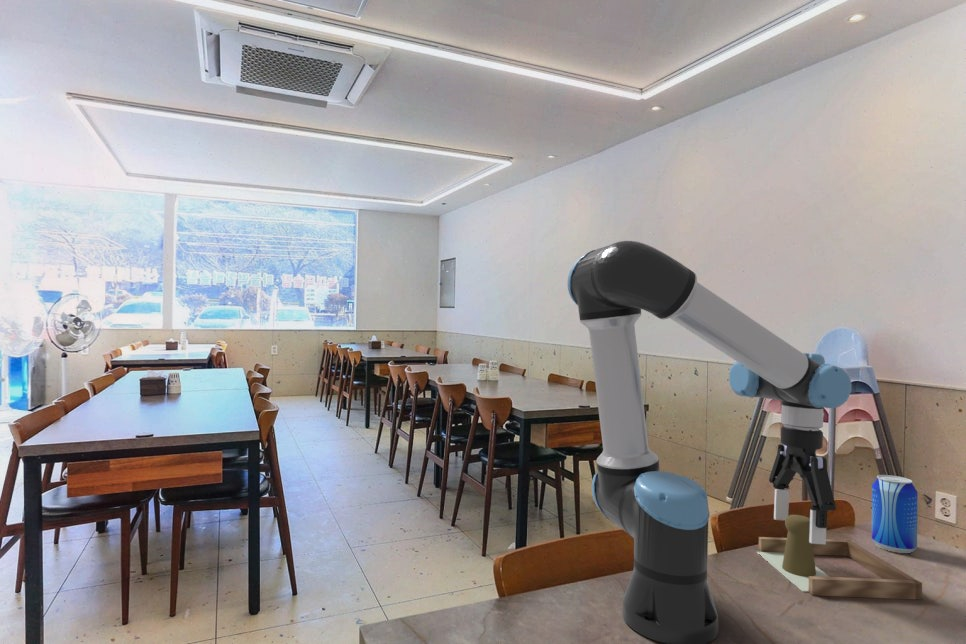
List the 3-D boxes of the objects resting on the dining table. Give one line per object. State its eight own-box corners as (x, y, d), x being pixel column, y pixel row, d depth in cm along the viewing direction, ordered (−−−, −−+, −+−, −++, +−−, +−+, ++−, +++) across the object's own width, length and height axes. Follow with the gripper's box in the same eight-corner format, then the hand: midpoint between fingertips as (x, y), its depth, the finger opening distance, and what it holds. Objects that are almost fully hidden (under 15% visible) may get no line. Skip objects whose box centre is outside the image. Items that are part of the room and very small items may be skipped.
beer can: (877, 538, 131) (878, 472, 131) (921, 549, 125) (921, 479, 125) (866, 546, 126) (867, 477, 126) (911, 558, 119) (912, 485, 120)
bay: (812, 595, 101) (812, 579, 101) (758, 550, 122) (758, 536, 122) (922, 599, 100) (922, 583, 100) (849, 553, 121) (849, 540, 121)
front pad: (802, 591, 102) (802, 590, 102) (756, 552, 120) (756, 551, 120) (851, 593, 102) (851, 592, 102) (797, 554, 120) (797, 553, 120)
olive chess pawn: (821, 578, 108) (821, 522, 108) (788, 574, 109) (788, 519, 109) (809, 565, 113) (809, 513, 114) (777, 562, 115) (778, 510, 115)
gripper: (860, 439, 99) (856, 556, 99) (788, 419, 124) (784, 512, 123) (818, 437, 99) (814, 553, 99) (754, 417, 124) (751, 510, 124)
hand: (798, 531), depth 111 cm, fingers open, 13 cm apart
